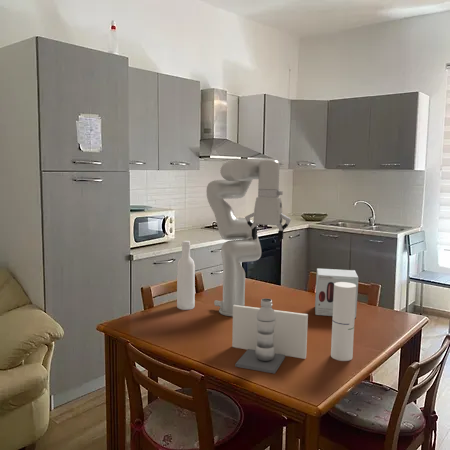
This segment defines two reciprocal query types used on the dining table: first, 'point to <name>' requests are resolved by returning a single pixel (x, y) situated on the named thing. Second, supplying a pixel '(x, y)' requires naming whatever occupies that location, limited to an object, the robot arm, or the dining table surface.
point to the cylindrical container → (343, 321)
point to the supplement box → (331, 288)
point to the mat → (259, 362)
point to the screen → (283, 331)
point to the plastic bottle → (265, 331)
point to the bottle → (185, 279)
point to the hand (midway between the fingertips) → (267, 240)
